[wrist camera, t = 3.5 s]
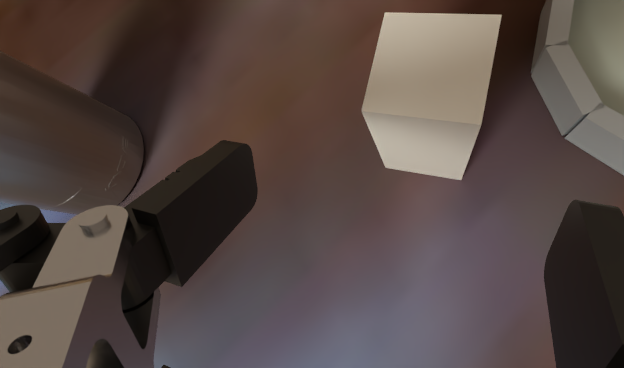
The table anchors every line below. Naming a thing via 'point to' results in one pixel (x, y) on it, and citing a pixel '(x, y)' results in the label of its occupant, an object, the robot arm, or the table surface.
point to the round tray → (584, 74)
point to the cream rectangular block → (430, 89)
